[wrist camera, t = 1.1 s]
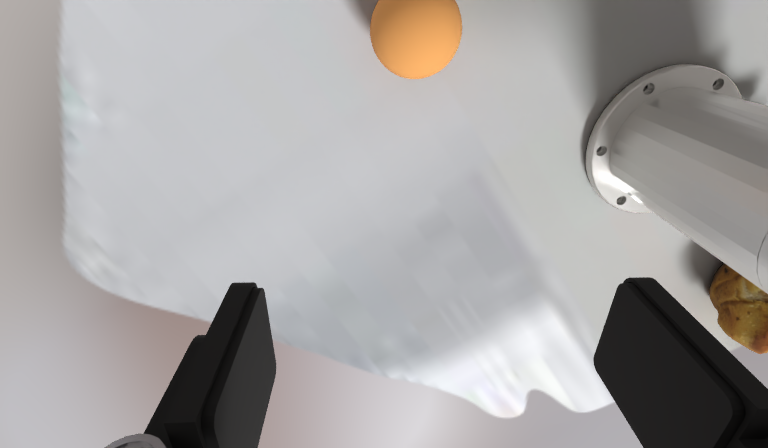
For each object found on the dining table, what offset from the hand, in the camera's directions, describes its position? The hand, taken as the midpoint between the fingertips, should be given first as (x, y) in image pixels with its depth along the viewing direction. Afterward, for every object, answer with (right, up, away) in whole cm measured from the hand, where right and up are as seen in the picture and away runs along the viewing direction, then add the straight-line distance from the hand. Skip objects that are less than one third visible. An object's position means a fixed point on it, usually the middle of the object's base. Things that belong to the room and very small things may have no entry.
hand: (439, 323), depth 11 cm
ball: (+1, +15, +16) cm, 22 cm away
